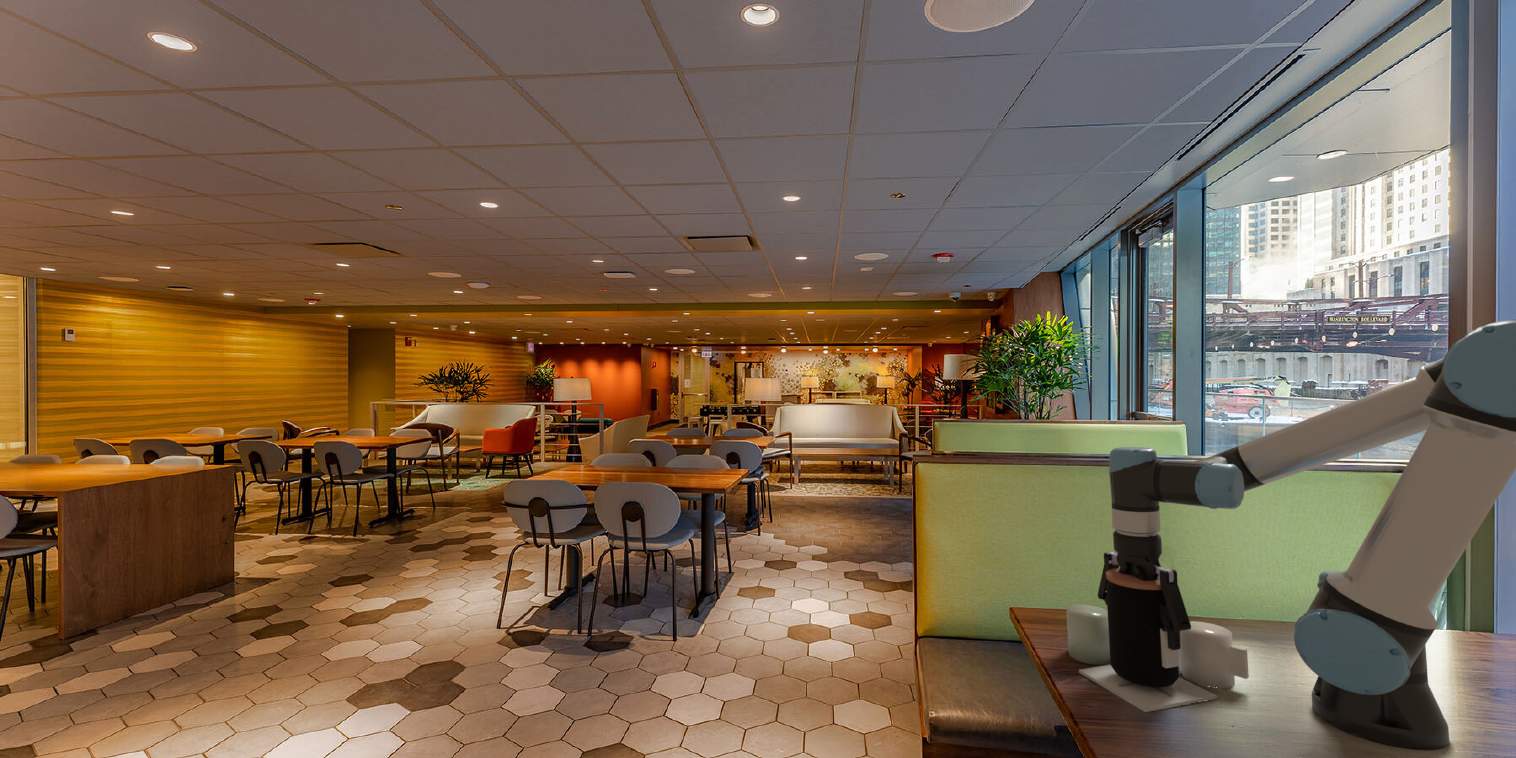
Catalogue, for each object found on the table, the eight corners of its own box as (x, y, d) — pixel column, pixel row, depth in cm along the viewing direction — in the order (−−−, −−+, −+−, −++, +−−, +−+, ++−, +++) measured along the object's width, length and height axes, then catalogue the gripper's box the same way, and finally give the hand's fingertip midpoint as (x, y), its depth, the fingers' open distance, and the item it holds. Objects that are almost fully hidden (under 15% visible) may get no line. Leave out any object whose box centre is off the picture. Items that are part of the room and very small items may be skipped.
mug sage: (1072, 662, 120) (1070, 617, 120) (1065, 646, 127) (1063, 603, 127) (1131, 667, 117) (1128, 621, 117) (1119, 650, 124) (1117, 606, 124)
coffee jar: (1194, 688, 104) (1188, 584, 105) (1132, 690, 104) (1126, 585, 105) (1154, 661, 115) (1149, 566, 115) (1098, 662, 115) (1093, 568, 115)
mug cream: (1173, 676, 113) (1170, 627, 113) (1192, 664, 117) (1189, 618, 117) (1239, 698, 104) (1236, 645, 104) (1257, 684, 108) (1254, 634, 109)
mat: (1217, 699, 104) (1217, 695, 104) (1145, 712, 101) (1144, 708, 101) (1144, 662, 118) (1143, 658, 118) (1079, 672, 115) (1078, 669, 115)
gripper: (1212, 544, 100) (1220, 678, 99) (1104, 518, 122) (1110, 627, 122) (1175, 548, 98) (1183, 684, 98) (1073, 521, 121) (1079, 631, 120)
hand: (1143, 653), depth 110 cm, fingers closed on coffee jar, 11 cm apart
